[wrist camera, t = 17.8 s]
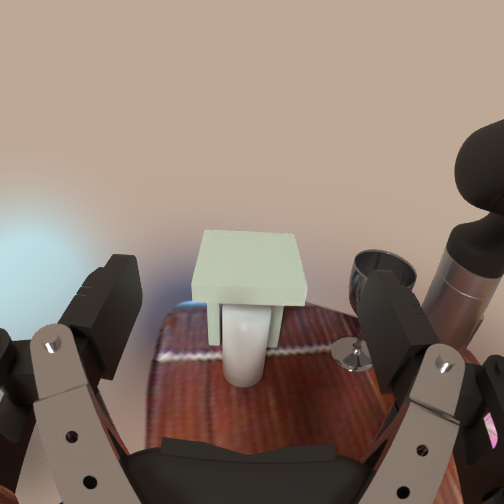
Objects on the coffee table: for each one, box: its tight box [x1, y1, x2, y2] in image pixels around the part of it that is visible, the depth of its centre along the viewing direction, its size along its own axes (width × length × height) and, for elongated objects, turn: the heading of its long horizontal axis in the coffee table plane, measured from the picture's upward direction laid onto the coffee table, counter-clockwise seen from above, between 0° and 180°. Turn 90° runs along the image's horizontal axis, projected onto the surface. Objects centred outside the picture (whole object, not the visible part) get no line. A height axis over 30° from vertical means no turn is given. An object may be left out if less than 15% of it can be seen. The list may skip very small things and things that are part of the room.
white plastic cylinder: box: [222, 303, 271, 387], centre depth 36 cm, size 5×5×11 cm
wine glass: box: [331, 249, 417, 372], centre depth 38 cm, size 8×8×15 cm
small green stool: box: [191, 230, 308, 348], centre depth 35 cm, size 10×10×17 cm
